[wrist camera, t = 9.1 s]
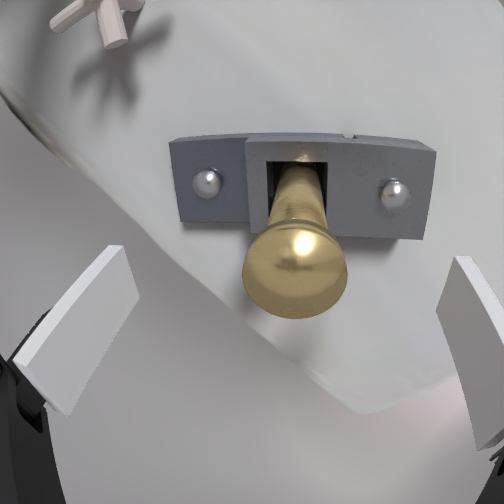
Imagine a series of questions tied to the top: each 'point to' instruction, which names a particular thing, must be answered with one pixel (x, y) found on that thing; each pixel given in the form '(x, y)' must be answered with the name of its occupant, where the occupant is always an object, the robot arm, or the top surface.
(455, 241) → the top surface
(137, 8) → the white crossed rod jack
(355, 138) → the square socket block
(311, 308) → the pin
